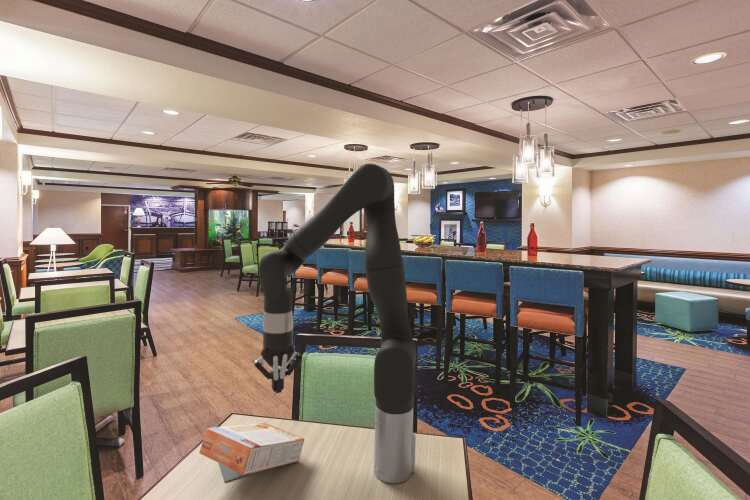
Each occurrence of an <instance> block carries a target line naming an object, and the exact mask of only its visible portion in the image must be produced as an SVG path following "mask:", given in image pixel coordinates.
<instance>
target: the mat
mask: <svg viewBox="0 0 750 500" xmlns="http://www.w3.org/2000/svg"><path fill="white" fill-rule="evenodd" d="M218 466H219V468H220V472H221V475H222V478H223V481H224V483H228V482H231V481H233V480H237V479H241V478H243V477H247V476H250V475H253V474H255V473H259V472H260V471H258V472H254V473H250V474H246V475H242V474H240V473H238V472H236V471H234V470H232V469H230V468H228V467H226V466H224V465H222V464H220V463H218Z"/></svg>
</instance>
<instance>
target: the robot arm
mask: <svg viewBox="0 0 750 500" xmlns="http://www.w3.org/2000/svg"><path fill="white" fill-rule="evenodd" d="M395 205H396V204H395V183H394V179H393V176H392V175H391V173H390V171H388V170H387V169H386V168H384V166H383V167H382V166H380V165H378V164H375V163H365V164H362V165H360V166H358V167H356V169H355V170H353V172H352V173H351V174H350V176H349V177H348V178H347V179H346V181H344V183H343V184H342V185H341V187H340V188H339V190H337V191H336V192H335V194H333V196H332V197H331V198H330V199H329V200H328V201H327V202H326V203H325V204H324V205H323V206H322V207H321V208H320V209H319V210H318V211H317V212H316V213H314V214H313V216H311V217H310V218H309V219H308V220H306V221H305V222H304V223H303V224H302V225H300V226H299V228H297V229H296V230H295V231H294V232H293V233H292V234H291V235H290V236H289V237H288V239H287V243H286V244H285V245H284V246H282V247H281V248H280V249H279V250H273V251H268V252H267V253H265V254H263V255H262V256H261V259H260V260H259V264H258V275H259V281H260V284H261V289H262V291H263V296H264V297H263V317H262V351H261V352H260V356H259V357H258V358H257V359H255V358H254V359H253V360H252V364H253V365H254V367H255V368H256V369H257V370H258V371H259V372H260V373H261V374H262V375H263V376H264V377H265V378H266V379H267V380H271V390H272V392H274V393H275V394H280V393H282V391H283V390H284V388H285V385H284V384H285V378H286V377H288V376H291V375H292V373H293V372H294V370H295V369H296V367H297V366H298V364H299V363H300V362H301V360H302V359H303V356H302V354H300V353H299V352H298V351H295V348H294V346H293V344H294V340H293V339H294V316H293V293H292V290H291V288H290V287H287V286H286V277H289V276H291V275H292V274H293V273H295V272H296V271H297V270H298V269H299V268H300V267H301V266H302V265H303V264H305V262H306V260H307V259H308V258H309V257H310V256H312V255H314V253H316V252H317V251H318V250H319V249H321V248H322V247H323V246H324V245H325V244H326V243H327V242H328V241H329V240H331V238H332V237H333V236H334V235H335V234H336V232H337V231H338V230H339V229H340V227H342V226H343V224H344V223H346V221H348V220H349V219H350V218H351V217H352V216H354V215H355V214H357V212H359V211H361V210H363V211H364V217H365V220H366V221H365V223H366V236H365V248H364V268H365V275H366V277H365V278H366V284H367V289H368V293H369V295H370V298H371V301H372V304H373V305H374V307H375V310H376V313H377V315H378V319H379V326H380V338H381V339H380V341H381V342H380V343H381V344H380V347H379V349H378V351H377V353H376V355H375V358H374V362H373V363H374V364H373V394H374V398H375V409H374V410H375V419H374V453H373V455H374V457H373V459H374V460H373V462H374V463H373V473H374V475H375V476H376V477H377V479H378V480H380V481H381V482H383V483H386V484H387V483H388V484H401V483H403V482H406V481H407V480H408V479H409V478H410V477H411V475H412V474H413V473H414V472H416V471H415V468H416V467H415V465H416V443H417V442H416V440H417V439H416V434H415V433H414V430H413V429H414V405H415V403H414V402H415V401H414V399H415V397H414V393H413V391H414V390H413V389H414V387H413V386H414V385H413V384H414V367H415V365H416V362H417V349H416V345H415V341H414V337H413V333H412V329H411V325H410V320H409V314H408V313H409V312H408V295H407V284H406V275H405V268H404V265H405V264H404V259H403V254H402V249H401V243H400V237H399V232H398V228H397V223H396V209H395ZM265 362H266V364H268V366H269V368H270V371H268V370H267V369H266V368H265V367H264V366H265Z"/></svg>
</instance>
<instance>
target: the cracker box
mask: <svg viewBox="0 0 750 500" xmlns="http://www.w3.org/2000/svg"><path fill="white" fill-rule="evenodd" d="M304 443H305V438H304V437H301V436H299V435H296V434H294V433H291V432H290V431H286V430H283V429H281V428H279V427H276V426H274V425H270V424H268V423H265V422H262V423H261V422H260V423H250V424H239V425H237V424H236V425H225V426H213V427H207V428H206V431H205V434H204V436H203V440H202V444H201V447H200V450H199V452H198V454H199V455H201V456H204V457H205V458H207V459H210V460H212V461H214V462H217V464H219V463H220V464H222V465H224V466H226V467H228V468H230V469H232V470H234V471H236V472H238V473H240V474H242V475H246V474H250V473H253V474H255V473H254V472H256V473H259V472H262V471H265V470H268V469H273V468H276V467H281V466H285V465H288V464H289V465H290V464H294V463H296V462H299V461H300V457H301V454H302V449H303V446H304ZM258 471H259V472H258ZM250 475H251V474H250Z"/></svg>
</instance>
